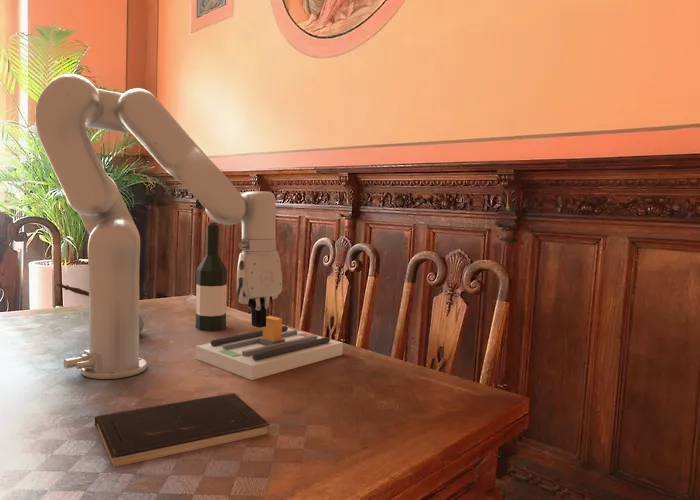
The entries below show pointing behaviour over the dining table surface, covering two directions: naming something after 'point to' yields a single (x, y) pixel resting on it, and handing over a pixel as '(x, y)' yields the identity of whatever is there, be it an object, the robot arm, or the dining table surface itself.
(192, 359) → the dining table surface
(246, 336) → the dressed cords
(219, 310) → the wine bottle
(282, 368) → the slider track board
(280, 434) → the dining table surface
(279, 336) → the handle
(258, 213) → the robot arm
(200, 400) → the hardcover book
